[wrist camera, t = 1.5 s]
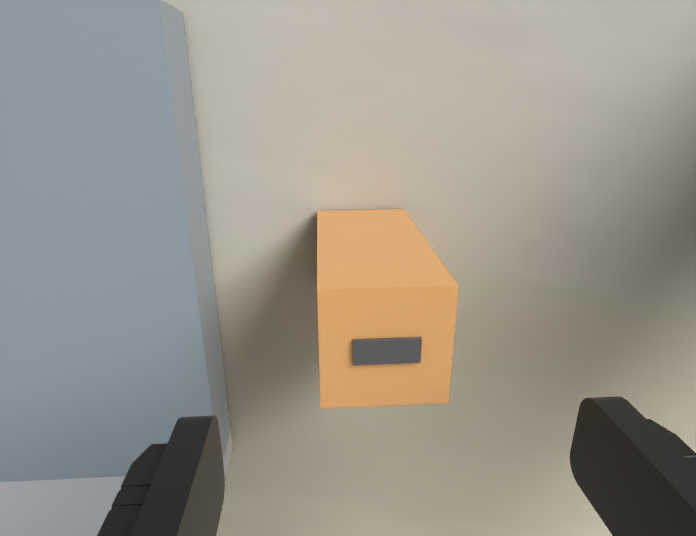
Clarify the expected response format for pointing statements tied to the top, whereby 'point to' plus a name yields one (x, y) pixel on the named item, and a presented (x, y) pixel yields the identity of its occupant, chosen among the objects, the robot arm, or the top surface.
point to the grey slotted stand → (98, 257)
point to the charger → (382, 311)
